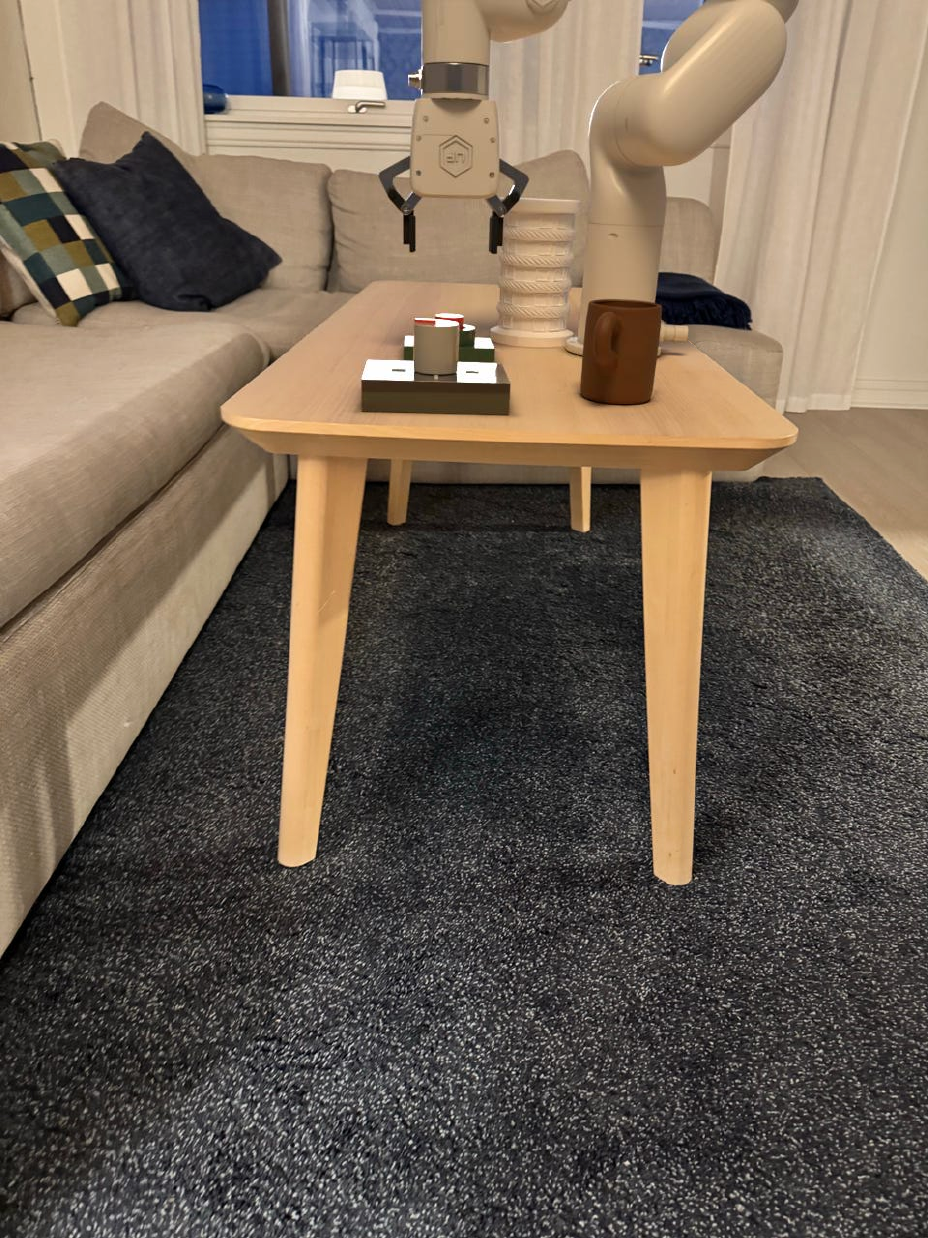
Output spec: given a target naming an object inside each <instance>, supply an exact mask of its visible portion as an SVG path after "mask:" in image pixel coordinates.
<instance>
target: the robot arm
mask: <svg viewBox="0 0 928 1238" xmlns="http://www.w3.org/2000/svg"><path fill="white" fill-rule="evenodd" d="M570 2H572V0H421V68H420V69H418V71H415V72H408V87H413V88H414V87H415V89H418V91H420V92H421V95H420V96H421V98H415V99H414V104H413V110H412V117H411V127H410V128H411V129H410V145H409V146H410V147H409V155H408V156H406V157H404V158H403V159H401V160H399V161H397V162H395V163H393V164H392V165H390V166H388V167H386V168H384V169H383V170H381V171H380V172H379V173H378V179H379V182H380V183H381V185H382V187H383V189H384V192H385V193H386V196H387V198H388V199H389V201H390V202H391V203H392V204H393V205H394V206H395V207H396V208H397V210H399V212H401V214H402V215H403V216H402V226H403V227H402V229H403V230H402V231H403V232H402V233H403V236H402V240H403V245H408V251H409V253H415V252H417V250H416V249H417V248H416V247H417V245H416V240H417V238H416V236H417V235H416V232H417V229H416V228H417V227H416V225H417V224H416V222H417V221H416V217H417V216H416V215H415V208H416V207H417V205H418V204H419V203H420V201H421V200H422V198H426V199H427V198H429V199H460V200H461V199H462V200H463V199H465V200H484V201H485V202H486V203H487V205H488V206H489V207H490V209H491V216H490V217H489V226H488V227H489V229H488V230H489V231H488V232H489V233H488V252H489V253H491V255H497V254H498V247H502V244H503V220H504V216H505V215H506V214H507V213H508V212H509V211H510V210H511V209H512V208H513V206H514V205H515V204H516V203H517V202H518V201H519V199H520V198H522V197H521V196H522V195H523V193H524V191H525V190H526V188H527V186H528V184H529V182H530V177H529V175H528V174H526V173H524V172H523V171H521V170H519V169H517V168H516V167H515V166H513V165H511V164H509V163H508V162H506V161H505V160H503V159H502V158H500V127H499V118H498V117H499V116H498V108H497V107H498V106H497V102H496V100H490V74H491V68H490V67H491V43H492V42H494V43H499V44H508V43H512V42H515V41H517V40H521V39H525V38H529V37H533V36H536V35H539V34H542V33H544V32H546V31H548V30H550V29H551V28H552V27H554V26H555V25H556V24H557V23H558V22H559V21H560V19H562V17H563V15H564V14H565V12H566V10H567V8H568V4H569V3H570ZM799 3H800V0H705V1H704V2H703V3H702V4H701V5H700V6H699V7H698V8H697V9H696V10H695V11H694V12H693V13H691V14H690V15H689V17H687V18H686V19H685V20H683V22H682V23H681V24H680V25H679V26H678V27H677V28H676V29H675V31H674V32H673V33H672V35H671V36H670V37H669V39H668V41H667V43H666V45H665V47H664V48H663V49H664V50H663V52H662V56H661V61H660V72H655V73H645V74H638V75H634V76H633V75H632V76H628V77H625V78H621V79H620V80H618V81H616V82H614V83H612V84H611V85H609V87H607V88H606V89H605V90H603V92H602V94H601V95H600V96H599V97H598V99H597V101H596V102H595V104H594V106H593V108H592V111H591V115H590V118H589V125H588V152H589V168H590V186H589V189H590V190H589V203H588V216H587V224H586V225H587V227H586V237H585V249H584V261H583V270H582V271H583V272H582V283H581V295H580V297H581V298H580V306H579V307H580V308H579V317H578V318H579V319H578V330H577V336H573V338H569V339H567V340H566V344H565V346H564V348H565V350H566V351H568V352H569V353H572V354H574V355H578V356H582V355H583V343H584V332H585V322H586V316H587V310H588V303H589V302H590V301H592V300H600V299H626V300H639V301H647V302H652V303H656V296H657V290H658V289H657V288H658V279H659V271H660V264H661V263H660V262H661V256H662V247H663V238H664V230H665V223H666V216H667V215H666V213H667V200H668V199H667V184H666V176H665V171H664V170H665V169H664V167H675V166H676V167H677V166H681V165H684V164H687V163H689V162H691V161H692V160H694V159H696V158H697V157H699V156H700V155H702V154H703V153H704V152H705V151H707V150H708V149H709V148H710V147H711V146H712V145H713V144H714V143H715V142H716V141H717V140H718V139H719V138H720V137H721V136H722V135H723V134H724V133H725V132H726V131H727V130H729V129H730V127H732V126H733V125H734V124H735V123H736V122H737V120H739V119H740V118H741V117H742V116H743V115H744V114H745V113H746V112H747V111H748V110H749V109H750V108H752V106H753V105H754V104H755V103H756V102H757V101H759V99H760V98H761V97H762V96H763V95H764V94H765V93H766V92H767V90H769V88H770V87H771V86H772V84H773V83H774V81H775V80H776V78H777V76H778V74H779V72H780V71H781V68H782V65H783V63H784V59H785V58H786V57H785V56H786V52H787V45H788V33H787V27H786V24H787V23H788V21H789V20H790V18H791V17H792V16H793V14H794V13H795V11H796V9H797V7H798V4H799ZM491 41H492V42H491ZM407 171H409V186H410V189H411V193H410V194H409V195H408V196H407V198H404V197H403V196H402V195H401V194H400V193H399V191H398V190H397V187H396V186H395V183H394V179H395V178H396V177H398V176H400V175H401V174H403V173H405V172H407ZM500 174H502V175H503V176H505V177H507V178H508V179H509V180H511V181H512V182H513V185H512V187H511V190H510V192H509V193H508V194H507V195H506V196H505V197H504V198H505V199H504V200H503V201H502V202H501V201H500V199H499V198H500V197H499V196H498V195H497V193H498V191H499V187H500ZM688 337H689V326H688V325H683V324H682V325H680V324H679V325H678V324H665V323H664V322H661V331H660V339H659V343H663V342H664V340H666V341H677V342H678V341H679V342H680V341H681V342H682V341H683V342H685V341H688ZM661 354H662V345H661V344H659V347H658V355H657V357H659V356H660V355H661Z"/></svg>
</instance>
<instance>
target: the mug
mask: <svg viewBox="0 0 928 1238" xmlns="http://www.w3.org/2000/svg"><path fill="white" fill-rule="evenodd" d="M662 313H663V307H662V305H661V304H660V303H656V302H655V303H652V302H647V301H639V300H626V299H600V300H592V301H590V302H589V303H588V310H587V316H586V322H585V332H584V343H583V355H581V371H580V381H579V383H580V385H579V389H580V393H581V395H582V397H583V398H585V399H587V400H590V401H593V402H598V403H603V404H608V405H609V404H610V405H611V404H612V405H637V404H642V403H646V402H647V401H649V400H650V399H651V397H652V394H653V391H654V384H655V376H656V370H657V363H658V356H657V355H658V347H659V345H660V342H659V339H660V331H661V323H662V315H663V314H662Z"/></svg>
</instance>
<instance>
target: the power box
mask: <svg viewBox="0 0 928 1238" xmlns="http://www.w3.org/2000/svg"><path fill="white" fill-rule="evenodd" d="M413 345H414V335H404V343H403V361H413ZM495 351H496V348H495V346H494V344H493V341H492V340H491V339H490V337H476V327H475V326H473V325H469V324H464V328H463V329H459V353H458V362H459V363H495V355H496V352H495Z"/></svg>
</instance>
